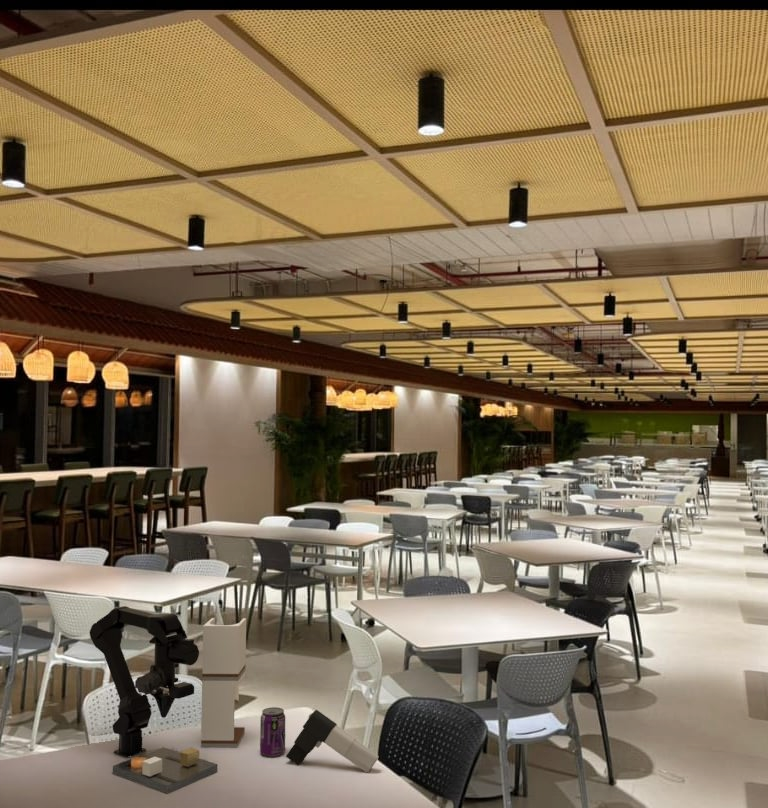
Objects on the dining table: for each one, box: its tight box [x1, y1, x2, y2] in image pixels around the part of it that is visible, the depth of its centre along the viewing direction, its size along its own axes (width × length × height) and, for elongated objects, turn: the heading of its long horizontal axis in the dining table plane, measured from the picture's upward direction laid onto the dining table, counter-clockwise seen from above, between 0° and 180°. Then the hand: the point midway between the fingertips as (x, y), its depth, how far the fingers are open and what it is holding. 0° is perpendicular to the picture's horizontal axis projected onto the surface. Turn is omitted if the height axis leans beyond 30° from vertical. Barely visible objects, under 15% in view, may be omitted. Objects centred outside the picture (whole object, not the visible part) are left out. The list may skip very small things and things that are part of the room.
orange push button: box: [131, 756, 147, 770], centre depth 213 cm, size 4×4×3 cm
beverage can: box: [259, 706, 286, 757], centre depth 227 cm, size 7×7×12 cm
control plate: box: [112, 746, 218, 794], centre depth 213 cm, size 22×17×2 cm
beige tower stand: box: [200, 617, 247, 749], centre depth 238 cm, size 11×11×35 cm
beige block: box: [142, 757, 162, 777], centre depth 207 cm, size 3×4×3 cm
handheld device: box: [285, 709, 379, 774], centre depth 217 cm, size 4×22×15 cm, turn 75°
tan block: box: [179, 747, 200, 767], centre depth 213 cm, size 3×4×3 cm
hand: (163, 717), depth 221 cm, fingers closed
